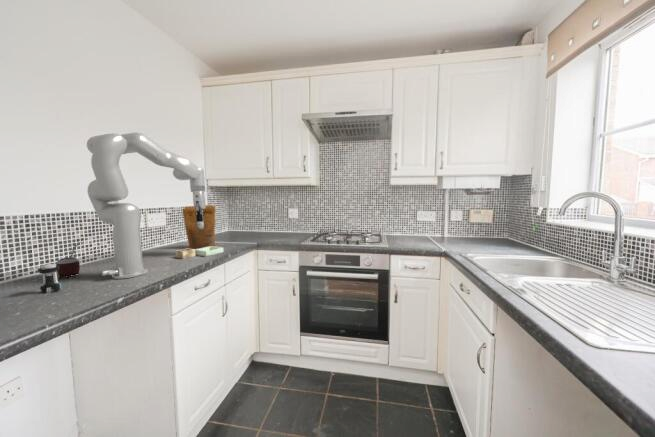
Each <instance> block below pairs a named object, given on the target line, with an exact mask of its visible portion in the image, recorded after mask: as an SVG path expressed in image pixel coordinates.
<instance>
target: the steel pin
mask: <svg viewBox="0 0 655 437" xmlns="http://www.w3.org/2000/svg"><path fill="white" fill-rule="evenodd" d="M202 215H203V212H202ZM197 223H198V229H204V221H202V222H197Z"/></svg>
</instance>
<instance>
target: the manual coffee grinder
mask: <svg viewBox="0 0 655 437" xmlns="http://www.w3.org/2000/svg"><path fill="white" fill-rule="evenodd" d="M81 242H82V241H81ZM81 242H78V243H77V244H75V245H74V246H73V247H72V251H71V254H70V257H63V258H60V259H58V260H57V262H56V266H59V270H58V271H57V275H59V277H58V279H61V278H60V277H65V278H67V277H66V276H69V277H72V276H71V275H76V274H79V275H80V267H81V265H80V261H79V259H78V258H77V257H73V256H74V252H75V250H76V248H77V246H79V245H80V244H81ZM76 276H77V275H76ZM69 277H68V278H69Z"/></svg>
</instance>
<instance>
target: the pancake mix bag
mask: <svg viewBox="0 0 655 437" xmlns="http://www.w3.org/2000/svg"><path fill="white" fill-rule="evenodd" d="M199 209H200V208H199ZM203 214H204V229H198V223H197V219H196V209H194V206H184V208H182V217H183V223H184V229H185V233H186V237H187V238H186V239H187V241H188V248H190V249H199V248H204V247H209V246H215V247H217V245H216V243H215V242H216V241H215V235H216V234H215V230H216V229H215V227H216V206H215V205H206V208H205V209H203Z"/></svg>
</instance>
